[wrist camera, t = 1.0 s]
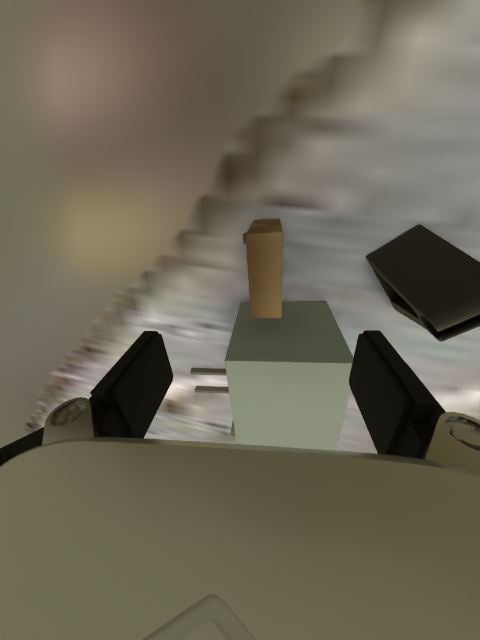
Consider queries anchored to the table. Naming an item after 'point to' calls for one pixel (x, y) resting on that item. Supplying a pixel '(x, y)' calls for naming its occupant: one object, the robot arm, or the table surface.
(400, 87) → the table surface
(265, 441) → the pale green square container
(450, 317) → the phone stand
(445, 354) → the table surface
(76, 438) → the robot arm
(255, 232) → the tan rectangular block
